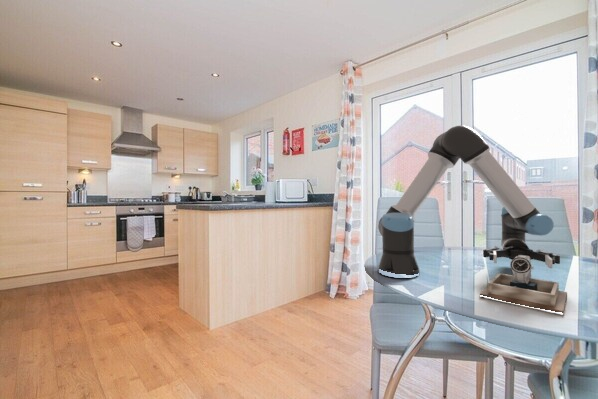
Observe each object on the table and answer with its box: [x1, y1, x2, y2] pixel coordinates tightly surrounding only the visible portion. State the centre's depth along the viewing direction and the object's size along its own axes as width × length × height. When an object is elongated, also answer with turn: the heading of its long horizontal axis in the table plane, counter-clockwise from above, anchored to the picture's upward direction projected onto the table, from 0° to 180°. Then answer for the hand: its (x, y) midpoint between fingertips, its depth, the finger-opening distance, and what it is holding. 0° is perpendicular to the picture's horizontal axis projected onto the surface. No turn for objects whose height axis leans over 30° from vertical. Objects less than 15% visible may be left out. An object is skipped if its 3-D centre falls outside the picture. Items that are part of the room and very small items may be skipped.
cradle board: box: [479, 273, 568, 313], centre depth 82 cm, size 18×18×4 cm
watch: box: [509, 255, 537, 291], centre depth 82 cm, size 6×8×11 cm
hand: (521, 261), depth 87 cm, fingers open, 13 cm apart
